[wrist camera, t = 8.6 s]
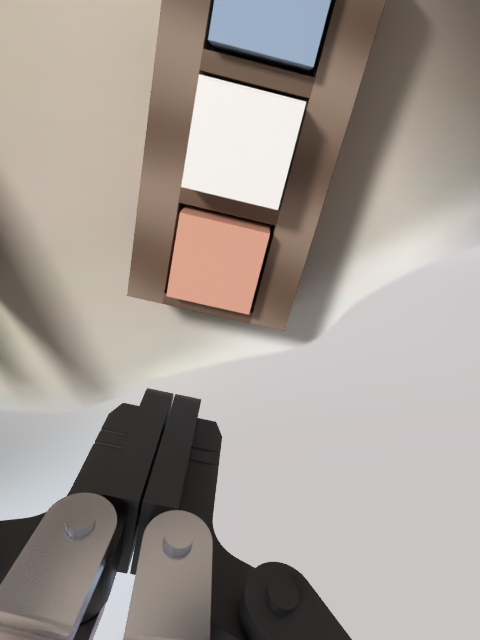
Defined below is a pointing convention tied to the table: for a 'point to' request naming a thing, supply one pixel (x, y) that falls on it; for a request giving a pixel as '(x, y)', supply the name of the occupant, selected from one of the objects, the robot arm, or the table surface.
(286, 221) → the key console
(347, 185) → the table surface
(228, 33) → the slate blue key
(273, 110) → the off-white key
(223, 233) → the terracotta key
